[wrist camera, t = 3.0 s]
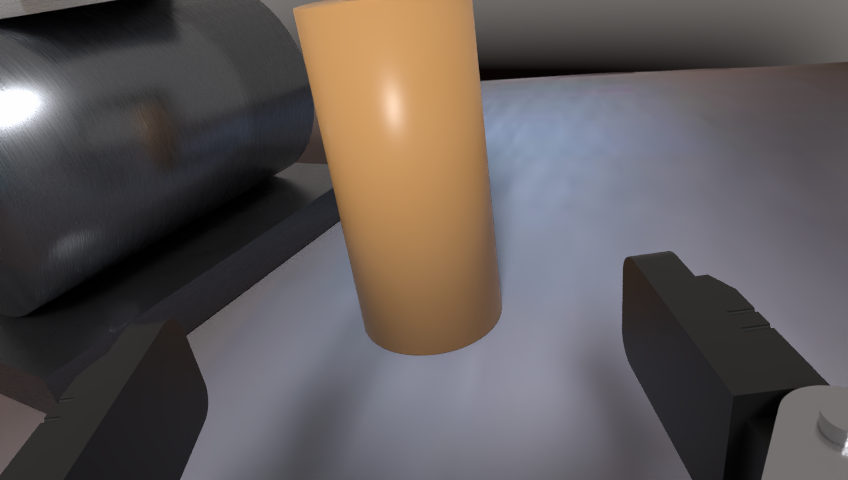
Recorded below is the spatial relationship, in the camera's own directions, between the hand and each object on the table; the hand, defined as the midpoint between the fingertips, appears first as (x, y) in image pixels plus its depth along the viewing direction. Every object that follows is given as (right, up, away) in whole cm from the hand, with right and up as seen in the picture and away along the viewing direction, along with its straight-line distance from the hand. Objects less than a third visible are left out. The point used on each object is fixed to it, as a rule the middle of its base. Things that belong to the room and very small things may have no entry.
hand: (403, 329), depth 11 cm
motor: (-13, 0, +21) cm, 25 cm away
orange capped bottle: (+1, -1, +13) cm, 13 cm away
